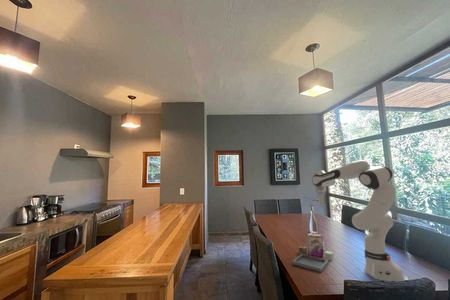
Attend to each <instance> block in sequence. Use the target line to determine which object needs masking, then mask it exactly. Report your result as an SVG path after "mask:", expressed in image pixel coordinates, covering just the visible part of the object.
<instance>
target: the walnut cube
mask: <svg viewBox="0 0 450 300" xmlns="http://www.w3.org/2000/svg"><path fill="white" fill-rule="evenodd" d="M301 254H305V255H308V246H303V245H299V246H298V255H301Z"/></svg>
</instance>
